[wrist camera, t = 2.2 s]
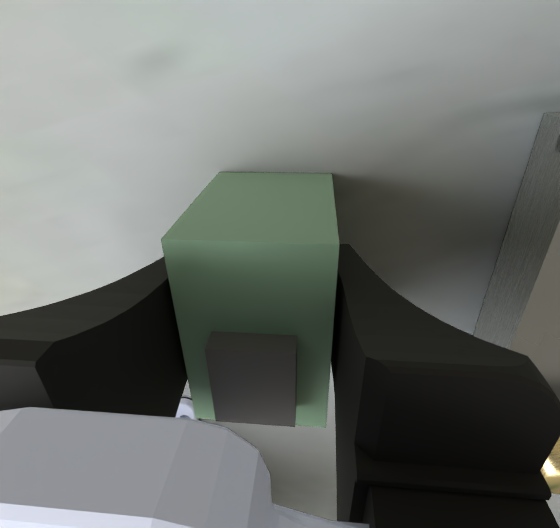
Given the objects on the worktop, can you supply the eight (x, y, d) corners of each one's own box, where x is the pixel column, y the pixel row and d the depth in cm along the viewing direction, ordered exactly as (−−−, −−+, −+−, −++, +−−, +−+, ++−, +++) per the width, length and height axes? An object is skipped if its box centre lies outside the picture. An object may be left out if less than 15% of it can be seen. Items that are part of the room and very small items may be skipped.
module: (323, 314, 14) (325, 448, 9) (232, 309, 14) (188, 437, 10) (331, 173, 11) (340, 259, 7) (219, 171, 12) (148, 252, 7)
